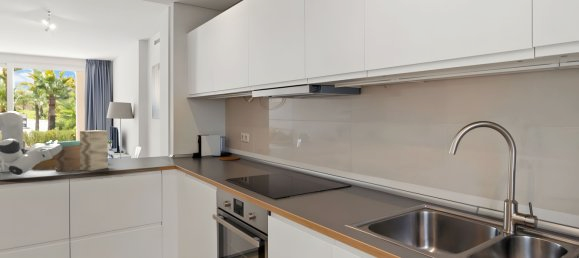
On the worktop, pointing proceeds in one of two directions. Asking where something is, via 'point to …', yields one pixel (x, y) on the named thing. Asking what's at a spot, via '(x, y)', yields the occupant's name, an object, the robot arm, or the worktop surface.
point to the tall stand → (93, 150)
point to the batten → (66, 143)
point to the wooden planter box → (46, 164)
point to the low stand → (68, 158)
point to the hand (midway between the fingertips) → (55, 141)
